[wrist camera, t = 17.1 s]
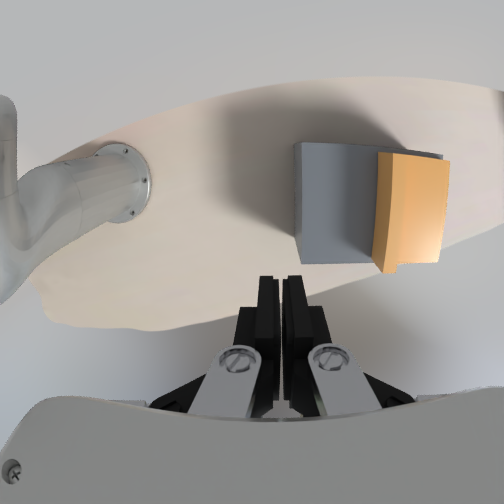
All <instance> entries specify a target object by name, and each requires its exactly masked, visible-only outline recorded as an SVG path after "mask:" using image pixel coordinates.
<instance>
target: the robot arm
mask: <svg viewBox="0 0 504 504" xmlns="http://www.w3.org/2000/svg"><path fill="white" fill-rule="evenodd" d="M127 150H128V152H127ZM145 179H147V181H146V180H145ZM151 186H152V183H151V174H150V169H149V167H148V165H147V162H146V161H145V159H144V158H143V156H142V155H141V154H140V153H139V152H138V151H137V150H136V149H134V148H133V147H131V146H128V145H126V144H110V145H106V146H104V147H102V148H101V149H99V150H98V151H97V152H95V154H94V155H93V156H92V157H86V158H80V159H74V160H68V161H63V162H57V163H52V164H47V165H42V166H39V167H36V168H34V169H32V170H30V171H29V172H27V173H26V174H25V175H23V176H22V177H21V178H20V179H19V180H18V181H17V112H16V108H15V105H14V103H13V102H12V101H11V100H10V99H9V98H8V97H6V96H3V95H0V305H1V304H2V303H4V302H5V301H6V300H7V299H8V298H9V297H11V296H12V295H13V294H14V293H15V292H16V290H17V289H18V288H19V287H20V286H21V285H22V283H23V282H24V281H25V280H26V279H27V277H28V276H29V275H30V274H31V273H32V272H33V270H34V269H35V268H36V267H37V266H38V265H40V264H41V263H42V262H43V261H44V260H45V259H47V258H48V257H49V256H51V255H52V254H54V253H55V252H56V251H58V250H59V249H61V248H63V247H64V246H66V245H67V244H69V243H71V242H72V241H74V240H76V239H78V238H79V237H81V236H83V235H84V234H86V233H88V232H89V231H91V230H93V229H95V228H96V227H98V226H100V225H102V224H103V223H105V222H111V223H124V222H127V221H129V220H132V219H133V218H135V217H136V216H137V215H139V214H140V213H141V212H142V210H143V209H144V208H145V206H146V204H147V202H148V200H149V197H150V193H151ZM134 212H135V213H134ZM282 357H283V358H282V359H283V393H284V400H289V405H290V408H293V409H295V410H296V411H297V412H299V413H300V418H263V415H264V414H265V413H266V412H268V411H269V410H270V409H272V408H273V400H279V387H280V360H281V359H280V358H281V325H280V300H279V279H273V276H260V280H259V291H258V303H257V307H240V310H239V316H238V321H237V326H236V332H235V337H234V343H233V346H229V347H226V348H224V349H222V350H221V351H219V352H218V353H217V355H216V356H215V357H214V360H213V362H212V364H211V366H210V368H209V370H208V372H207V373H206V374H204V375H203V376H201V377H199V378H197V379H195V380H193V381H191V382H189V383H187V384H185V385H184V386H182V387H179V388H178V389H175V390H173V391H172V392H170V393H167V394H165V395H163V396H161V397H159V398H157V399H156V400H154V401H153V402H152V403H151V404H146V401H122V400H121V401H120V400H104V399H98V398H91V397H81V396H58V397H52V398H48V399H45V400H42V401H40V402H39V403H37V404H36V405H35V406H34V407H32V409H30V410H29V412H28V413H27V414H26V415H25V416H24V418H23V419H22V420H21V422H20V423H19V424H18V426H17V427H16V428H15V430H14V431H13V433H12V434H11V436H10V437H9V439H8V441H7V442H6V444H5V446H4V447H3V449H2V450H1V452H0V504H504V387H502V386H488V387H478V388H473V389H468V390H463V391H460V392H456V393H451V394H440V395H418V396H417V397H416V399H413V398H412V397H411V396H410V395H408V394H407V393H405V392H403V391H401V390H399V389H396V388H394V387H392V386H390V385H388V384H386V383H384V382H382V381H380V380H378V379H375V378H374V377H372V376H370V375H368V374H366V373H364V372H362V370H361V368H360V366H359V365H358V363H357V361H356V359H355V357H354V355H353V354H352V353H351V351H350V350H349V349H347V348H346V347H344V346H341V345H339V344H333V343H332V341H331V338H330V333H329V330H328V326H327V322H326V319H325V315H324V312H323V308H322V306H308V304H307V299H306V294H305V290H304V285H303V280H302V276H301V275H293V276H288V279H283V292H282Z"/></svg>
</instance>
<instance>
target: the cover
mask: <svg viewBox="0 0 504 504" xmlns="http://www.w3.org/2000/svg"><path fill="white" fill-rule="evenodd" d="M449 169H450V161H447V160H441V159H434V158H428V157H421V156H413V155H405V154H396V153H386V152H378V181H377V201H376V216H375V228H374V238H373V247H372V256H371V259H372V260H373V262H374V263H375V264H376V266H377V267H378V268H379V269H380V271H381V272H382V273H396V268H397V264H400V263H428V262H438V258H439V253H440V248H441V242H442V236H443V230H444V223H445V215H446V207H447V197H448V186H449Z"/></svg>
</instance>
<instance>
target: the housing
mask: <svg viewBox="0 0 504 504" xmlns="http://www.w3.org/2000/svg"><path fill="white" fill-rule="evenodd" d="M378 152H386V153H396V154H405V155H413V156H421V157H428V158H434V159H441V160H443V155H440V154H434V153H428V152H421V151H414V150H406V149H398V148H389V147H379V146H368V145H355V144H337V143H306V142H301V143H295V144H294V173H295V241H296V245H297V249H298V253H299V257H300V261H301V264H340V263H374V262H373V260H372V259H371V256H372V247H373V238H374V228H375V216H376V201H377V181H378Z"/></svg>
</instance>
